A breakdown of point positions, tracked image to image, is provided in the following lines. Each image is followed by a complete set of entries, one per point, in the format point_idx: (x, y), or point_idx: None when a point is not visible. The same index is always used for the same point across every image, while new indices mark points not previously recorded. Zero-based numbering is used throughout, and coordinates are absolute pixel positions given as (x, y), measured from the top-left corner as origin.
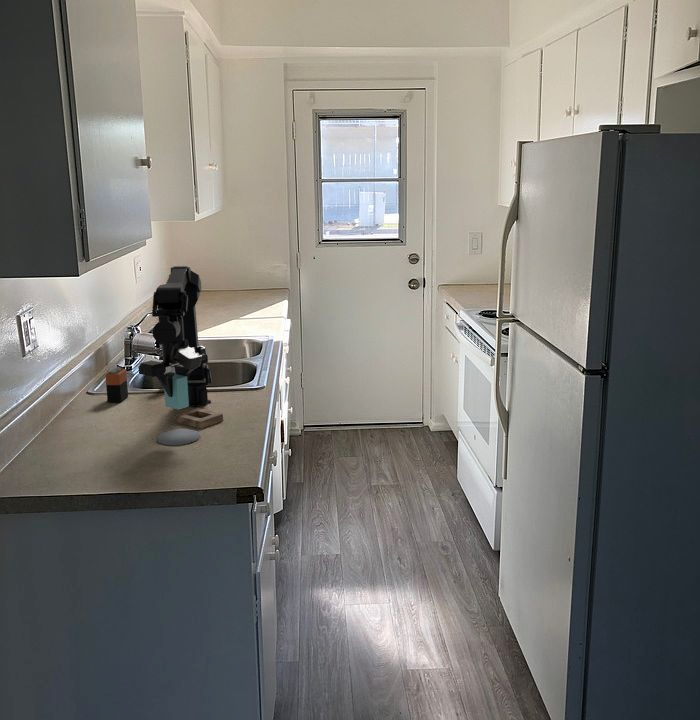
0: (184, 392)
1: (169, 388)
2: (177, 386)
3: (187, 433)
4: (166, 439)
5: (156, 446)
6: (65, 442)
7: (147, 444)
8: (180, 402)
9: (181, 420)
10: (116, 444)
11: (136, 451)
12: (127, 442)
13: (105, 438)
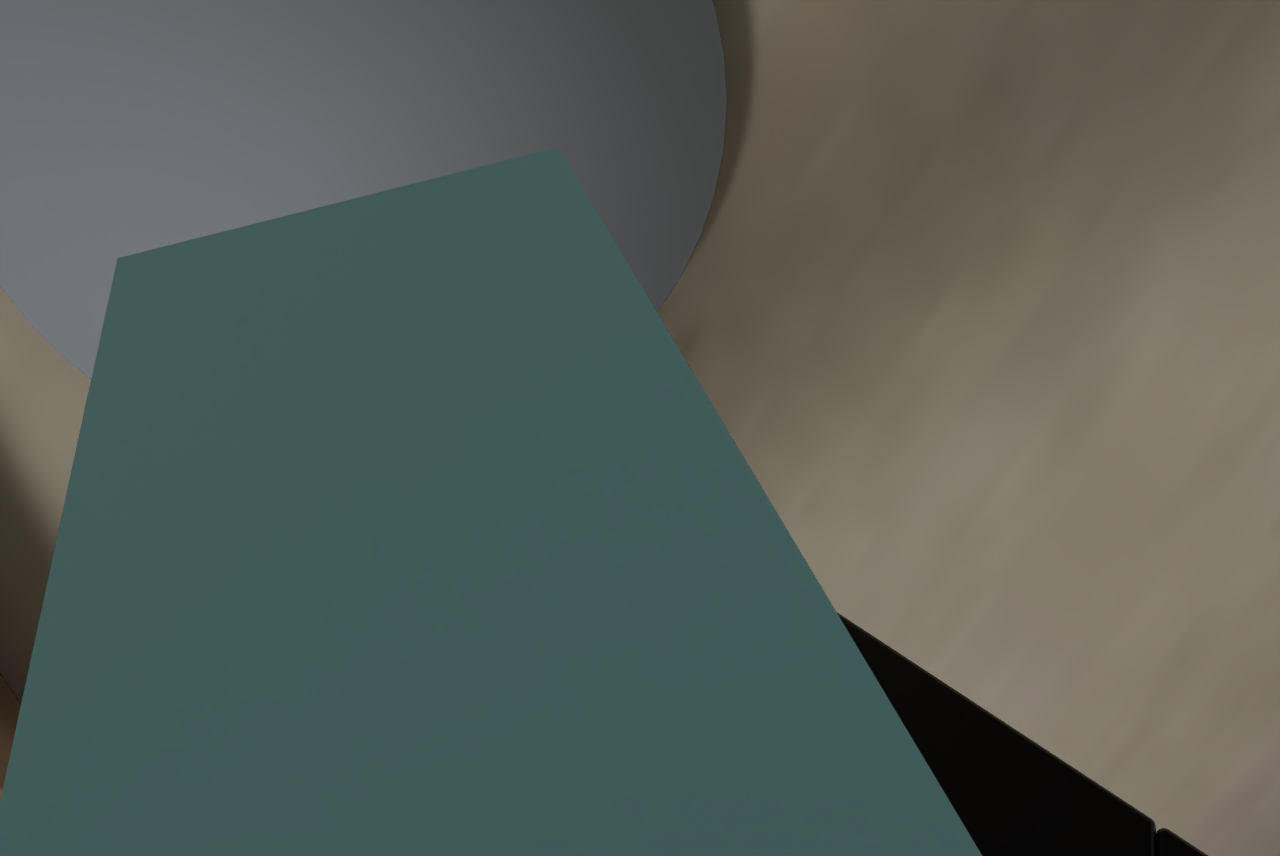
0: (280, 525)
1: (1051, 759)
2: (837, 687)
3: (166, 172)
4: (613, 126)
5: (830, 21)
6: (1270, 732)
7: (858, 197)
8: (499, 260)
9: (11, 740)
10: (1076, 435)
11: (1128, 26)
12: (962, 426)
13: (1011, 664)
